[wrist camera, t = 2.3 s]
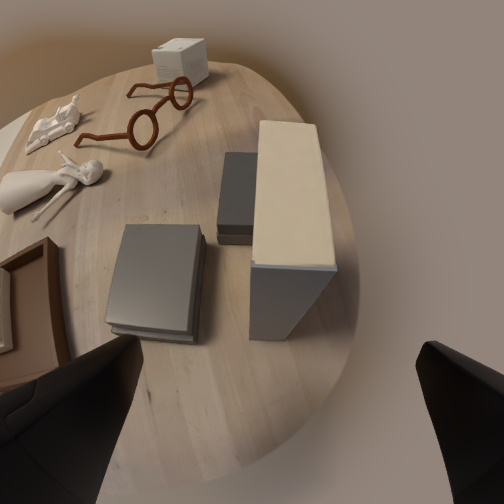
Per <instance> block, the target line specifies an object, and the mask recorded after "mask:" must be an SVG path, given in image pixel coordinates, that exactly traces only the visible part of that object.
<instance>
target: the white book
mask: <svg viewBox="0 0 504 504" xmlns="http://www.w3.org/2000/svg"><path fill="white" fill-rule="evenodd" d="M337 271H338V270H337V264H336V262H335V251H334V241H333V232H332V224H331V215H330V208H329V200H328V193H327V186H326V180H325V173H324V167H323V161H322V156H321V150H320V145H319V140H318V135H317V129H316V126H315V125H313V124H304V123H294V122H282V121H267V120H261V121H260V126H259V143H258V161H257V178H256V195H255V213H254V230H253V247H252V260H251V273H250V320H249V340H269V341H284V340H285V339H286V337H287V336H288V335H289V334H290V333H291V331H292V330H293V329H294V328H295V326H296V325H297V324H298V323H299V321H300V320H301V319H302V318H303V316H304V315H305V314H306V313H307V311H308V310H309V309H310V307H311V306H312V305H313V304H314V302H315V301H316V300H317V298H318V297H319V296H320V294H321V293H322V292H323V290H324V289H325V288H326V286H327V285H328V284H329V282H330V281H331V280H332V278H333V277H334V275H335V274H336V273H337Z"/></svg>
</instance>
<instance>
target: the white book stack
mask: <svg viewBox="0 0 504 504" xmlns="http://www.w3.org/2000/svg"><path fill="white" fill-rule="evenodd" d="M12 349H13V342H12V331H11V315H10V273H9V272H7V271H6V270H4V269H3V268H2V269H1V268H0V353H3V352H6V351H9V350H12Z"/></svg>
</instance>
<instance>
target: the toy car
mask: <svg viewBox="0 0 504 504" xmlns="http://www.w3.org/2000/svg"><path fill="white" fill-rule="evenodd" d="M78 96H79V95H76V96H74V97H73V100H72V102H71V104H69V105H67V106H65V107H63V108H61V107H59V108H58V110H57V113H56V115H55V116H53V117H51V118H48V119H47V118H42V119H40V120H38V121H37V123H36V125H35V126H34V129H33V131H32V133H31V135H30V137H29V140H28V142H27V144H26V147H25V152H26V154H29V153H30V152H32V151H34V150H35V149H37V148H39V147H41V146H45V145H47V144H48V142H49V140H50V141H52V140H54V139H56V138H58V137H60V136H62V135H64V134H66V133H70V132H72V131H73V130H74V126H75V125H77V124H78V121H79V117H80V113H79V111H78V109H77V107H76V101H77V100H78V99H79V97H78ZM32 142H34V143H32Z"/></svg>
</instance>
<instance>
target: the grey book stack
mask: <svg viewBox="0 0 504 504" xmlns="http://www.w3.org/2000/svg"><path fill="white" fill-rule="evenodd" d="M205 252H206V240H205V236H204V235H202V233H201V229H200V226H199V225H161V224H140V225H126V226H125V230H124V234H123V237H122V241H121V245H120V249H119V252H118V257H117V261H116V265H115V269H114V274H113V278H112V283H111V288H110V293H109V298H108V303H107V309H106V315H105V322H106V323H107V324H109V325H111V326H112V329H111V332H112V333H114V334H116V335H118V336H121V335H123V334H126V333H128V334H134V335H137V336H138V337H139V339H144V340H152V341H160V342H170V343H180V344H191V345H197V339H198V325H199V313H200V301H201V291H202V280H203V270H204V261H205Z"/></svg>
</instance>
